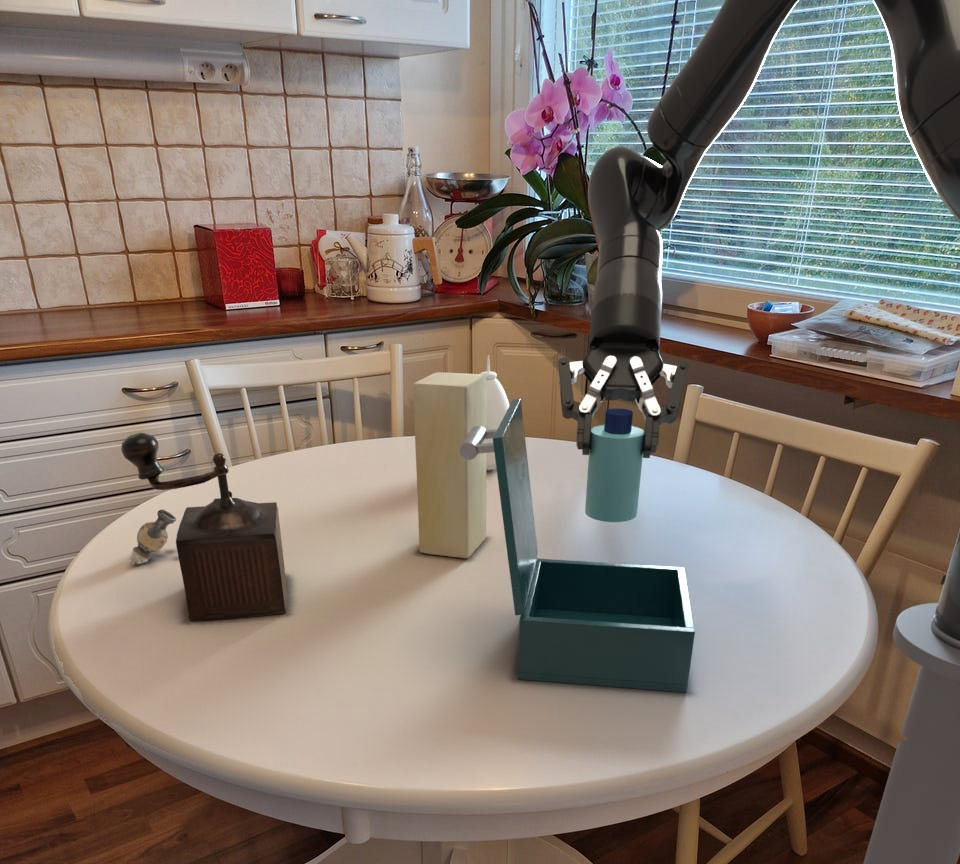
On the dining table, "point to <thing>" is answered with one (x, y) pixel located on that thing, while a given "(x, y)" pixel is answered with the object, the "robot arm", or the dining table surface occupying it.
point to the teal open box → (607, 625)
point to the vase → (152, 537)
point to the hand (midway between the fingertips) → (616, 452)
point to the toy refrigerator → (449, 463)
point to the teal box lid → (511, 495)
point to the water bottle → (614, 468)
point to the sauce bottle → (493, 408)
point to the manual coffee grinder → (221, 544)
